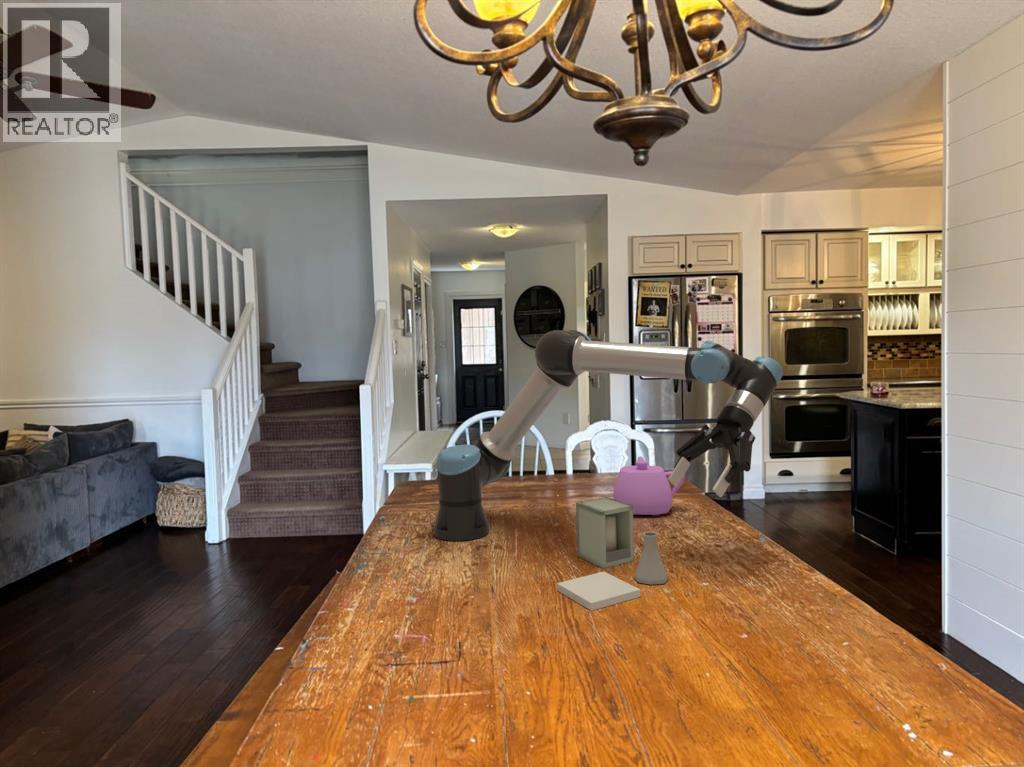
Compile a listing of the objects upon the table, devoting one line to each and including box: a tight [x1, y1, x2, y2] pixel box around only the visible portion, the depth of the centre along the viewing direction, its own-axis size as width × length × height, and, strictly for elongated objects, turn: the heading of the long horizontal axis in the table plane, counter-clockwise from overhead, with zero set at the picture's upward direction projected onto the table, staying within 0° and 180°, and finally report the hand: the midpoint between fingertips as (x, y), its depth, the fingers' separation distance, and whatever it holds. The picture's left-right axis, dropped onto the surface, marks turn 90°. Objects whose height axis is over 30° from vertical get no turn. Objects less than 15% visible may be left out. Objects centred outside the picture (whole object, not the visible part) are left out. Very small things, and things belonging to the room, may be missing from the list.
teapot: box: [612, 456, 686, 517], centre depth 191 cm, size 23×21×15 cm
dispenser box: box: [575, 496, 635, 569], centre depth 149 cm, size 10×9×13 cm
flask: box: [633, 531, 669, 585], centre depth 135 cm, size 7×7×10 cm
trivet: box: [556, 571, 641, 611], centre depth 129 cm, size 12×12×2 cm
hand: (693, 487), depth 140 cm, fingers open, 13 cm apart
